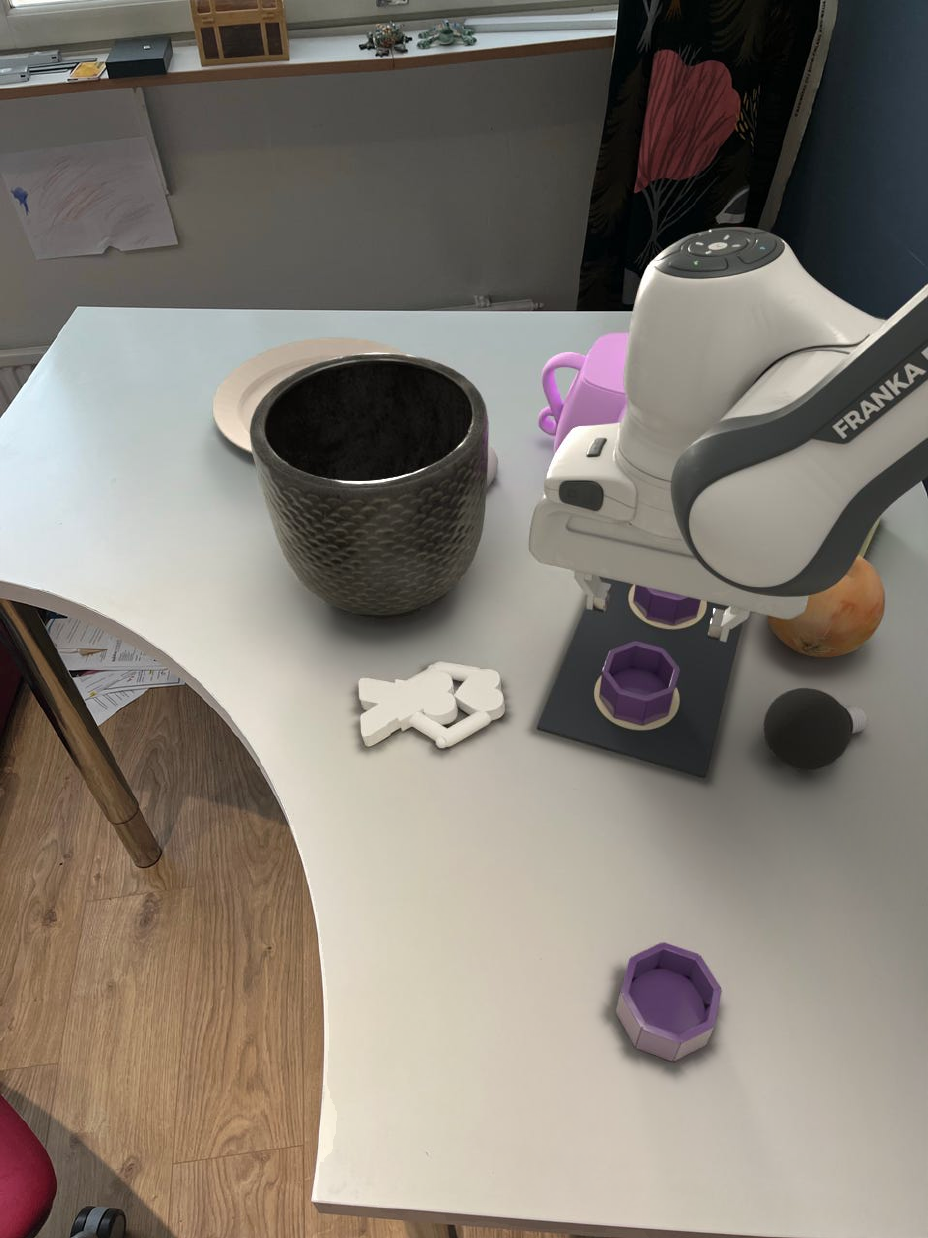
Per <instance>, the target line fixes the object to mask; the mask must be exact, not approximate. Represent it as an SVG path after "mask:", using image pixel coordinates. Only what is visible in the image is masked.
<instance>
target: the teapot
mask: <svg viewBox="0 0 928 1238" xmlns="http://www.w3.org/2000/svg"><path fill="white" fill-rule="evenodd" d="M628 335H629V332H611V333H606V334H604V335H601V336H600V337H599V338H597V339H596V341H595V342H594V343H593V345H592V346H591V348H590V350H589V351H588V353H587V355H584V354H581V353H578V352H574V351H567V352H561V353H558V354H555V355H554V356H552V357H550V359H549V360H548V361H547V362H546V363H545V365H544V367H543V369H542V373H541V385H542V389H543V392H544V396H545V398H546V401H547V403H548V406H546V407H544V408H543V409H542V410H540V412H539V415H538V417H537V418H538V419H537V422H538V424H537V425H538V426H539V429H540V430H541V431H542V432H544V433H545V434H547V435H548V436H552V437H553V436H554V437H555V439H554V443H553V456H554V455H555V453H556V452H557V450H558V448H559V447H560V445H561V443H562V442H563V440H564V439H565V438H566V436H567V435H568V434H569V432H570V431H571V430H572V429H574V428H577V427H582V426H592V425H603V424H612V423H620V422H621V421H622V418H623V416H624V414H625V412H626V407H627V400H626V395H625V391H624V385H623V375H624V364H625V356H626V348H627V341H628ZM560 368H570V369H574V370H576V371H577V370H578V371H577V373H576V375H575V376H574V378H573V381H572V383H571V385H570V388H568V392H567V393H566V394H567V395H566V396H565V398H564V399H565V400H564V402H563V399H562V396H561V394H560V391H559V388H558V387H557V383H556V377H555V370H557V369H560ZM550 417H553V418H554V420H552V419H551V418H550Z"/></svg>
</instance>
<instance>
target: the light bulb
mask: <svg viewBox="0 0 928 1238" xmlns="http://www.w3.org/2000/svg"><path fill="white" fill-rule="evenodd" d="M867 725H868V716H867V715H866V712H865V711H864V710H863V709H862V708H860V707H859V706H856V705H851V706H847V707H845V706H844V705H843V704H841V703H840V702H839V701H838V700H837V699H836V698H835V697H834V696H832V695H830V694H829V693H827V692H825V691H823V690H820V689H817V688H811V687H801V688H794V689H791V690H788V691H786V692H784V693H782V694H781V695H779V696H777V698H775V699H774V701H772V703H771V704H770V705H769V707H768V709H767V711H766V712H765V717H764V719H763V735H764V739H765V743H766V745H767V746H768V748H769V751H770V752H771V753H772V754H773V755H774V756H775V757H776V758H777V759H778V760H780V762H782V763H784V764H785V765H787V766H788V767H791V768H794V769H797V770H801V771H802V770H805V771H814V770H820V769H823V768H826V767H828V766H831V765H832V764H833V763H835V762H836V761H837V760H838V759H839V758H840V757H842V756H843V754H844V753H845V751H846V749H847V747H848V745H849V742H850V740H851V739H850V738H851V737H852V735H853V734H857V733H861V732H863V731H865V730H866V728H867Z"/></svg>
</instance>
